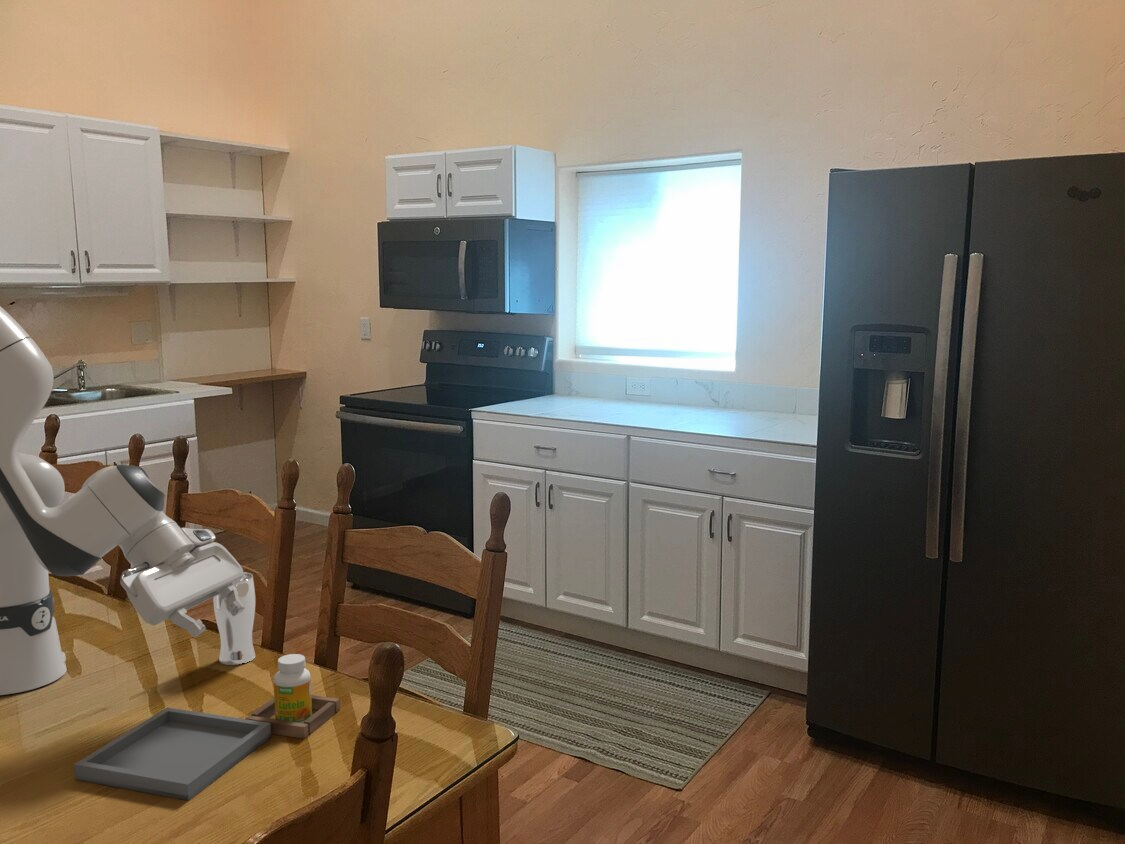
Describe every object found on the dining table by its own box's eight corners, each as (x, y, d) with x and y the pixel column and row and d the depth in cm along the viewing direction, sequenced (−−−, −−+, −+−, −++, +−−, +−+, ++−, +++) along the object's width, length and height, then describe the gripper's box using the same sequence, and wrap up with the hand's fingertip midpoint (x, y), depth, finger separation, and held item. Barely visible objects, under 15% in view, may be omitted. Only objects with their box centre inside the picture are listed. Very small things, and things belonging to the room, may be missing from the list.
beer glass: (244, 648, 171) (240, 569, 169) (265, 657, 167) (262, 576, 165) (208, 659, 166) (204, 578, 164) (230, 669, 161) (226, 585, 159)
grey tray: (75, 779, 125) (74, 764, 125) (167, 721, 142) (167, 707, 142) (188, 800, 120) (187, 784, 120) (270, 737, 137) (270, 723, 137)
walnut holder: (245, 729, 139) (245, 718, 139) (284, 701, 149) (283, 691, 149) (304, 738, 136) (304, 727, 136) (339, 709, 146) (339, 698, 146)
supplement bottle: (274, 729, 139) (272, 667, 138) (275, 714, 144) (273, 653, 143) (312, 725, 141) (310, 663, 139) (312, 710, 146) (309, 650, 145)
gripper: (125, 561, 135) (186, 633, 133) (217, 527, 154) (271, 590, 153) (102, 588, 137) (162, 659, 135) (195, 551, 156) (248, 613, 154)
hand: (220, 622), depth 144 cm, fingers open, 8 cm apart
